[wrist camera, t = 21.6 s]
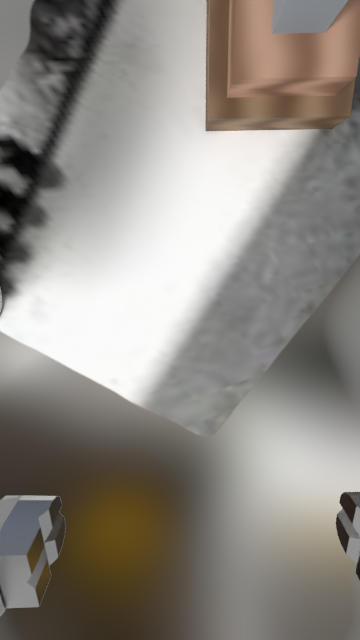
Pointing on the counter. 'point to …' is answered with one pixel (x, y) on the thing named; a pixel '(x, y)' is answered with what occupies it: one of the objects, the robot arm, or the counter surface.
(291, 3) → the slate brick
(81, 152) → the counter surface
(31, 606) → the robot arm
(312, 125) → the plinth
